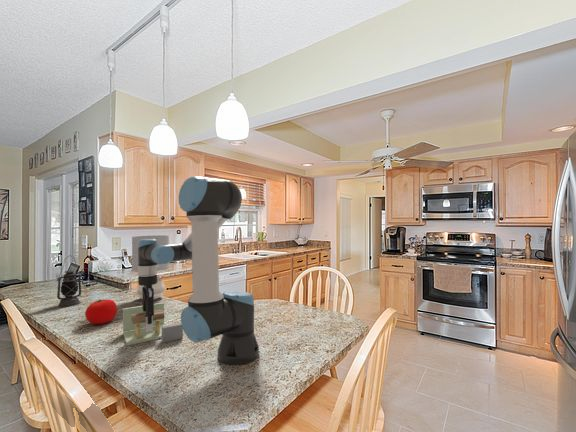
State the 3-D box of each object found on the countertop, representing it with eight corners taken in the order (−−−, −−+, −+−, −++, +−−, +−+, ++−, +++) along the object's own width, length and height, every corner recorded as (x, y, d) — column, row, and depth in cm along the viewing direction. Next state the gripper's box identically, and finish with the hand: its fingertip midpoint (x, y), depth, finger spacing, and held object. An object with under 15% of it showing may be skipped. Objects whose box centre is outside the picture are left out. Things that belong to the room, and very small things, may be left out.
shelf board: (164, 318, 127) (164, 312, 127) (133, 324, 120) (133, 318, 120) (161, 315, 132) (161, 309, 132) (131, 320, 125) (131, 314, 125)
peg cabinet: (171, 336, 127) (171, 310, 127) (126, 345, 118) (126, 318, 118) (163, 325, 140) (163, 302, 140) (122, 333, 130) (123, 308, 131)
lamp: (127, 298, 190) (127, 236, 190) (162, 292, 204) (162, 235, 205) (138, 305, 174) (138, 237, 174) (174, 298, 188) (174, 236, 189)
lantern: (78, 300, 186) (78, 253, 186) (84, 303, 179) (85, 254, 180) (53, 305, 175) (54, 255, 176) (60, 308, 169) (60, 256, 170)
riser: (182, 338, 124) (182, 324, 124) (162, 343, 120) (162, 328, 120) (181, 336, 126) (181, 322, 126) (161, 341, 122) (161, 326, 122)
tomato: (121, 322, 145) (121, 299, 145) (88, 329, 135) (88, 305, 135) (113, 316, 154) (113, 294, 154) (81, 323, 144) (81, 300, 144)
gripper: (161, 277, 121) (161, 333, 120) (153, 271, 136) (153, 320, 136) (141, 279, 116) (141, 337, 116) (135, 272, 132) (135, 324, 132)
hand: (147, 328), depth 126 cm, fingers closed on shelf board, 6 cm apart
